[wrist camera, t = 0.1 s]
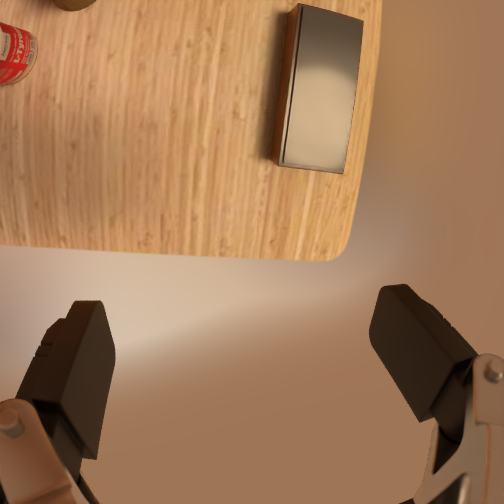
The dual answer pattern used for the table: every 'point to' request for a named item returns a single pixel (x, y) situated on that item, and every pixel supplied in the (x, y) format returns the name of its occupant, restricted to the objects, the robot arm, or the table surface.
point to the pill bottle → (15, 53)
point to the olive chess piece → (73, 4)
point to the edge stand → (316, 90)
